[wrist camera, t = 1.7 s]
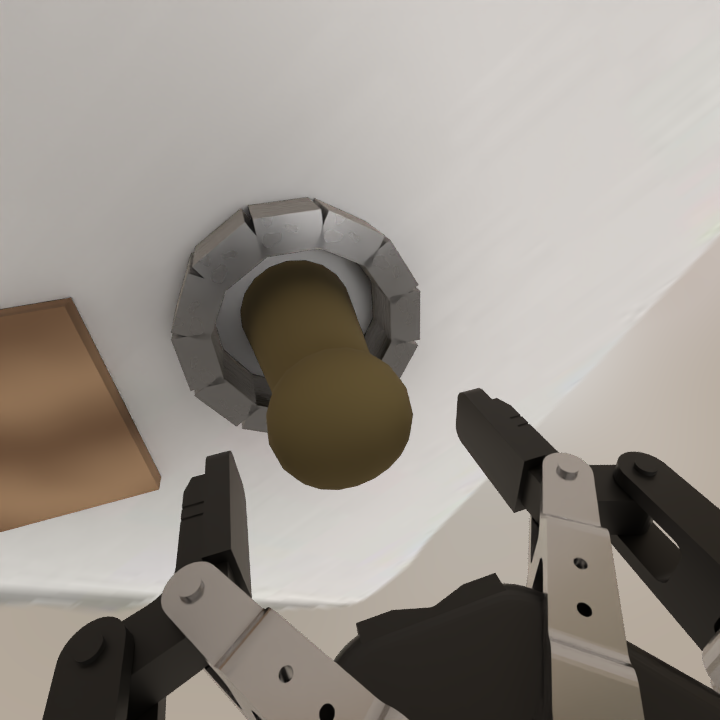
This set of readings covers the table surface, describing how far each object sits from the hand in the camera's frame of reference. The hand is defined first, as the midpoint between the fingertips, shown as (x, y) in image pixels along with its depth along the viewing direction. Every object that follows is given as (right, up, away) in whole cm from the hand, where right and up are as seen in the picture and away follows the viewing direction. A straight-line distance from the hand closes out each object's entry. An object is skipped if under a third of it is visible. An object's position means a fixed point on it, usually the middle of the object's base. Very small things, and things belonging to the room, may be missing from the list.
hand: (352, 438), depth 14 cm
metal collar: (-3, +5, +8) cm, 10 cm away
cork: (-3, +5, +8) cm, 10 cm away
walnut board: (-18, -1, +6) cm, 19 cm away
